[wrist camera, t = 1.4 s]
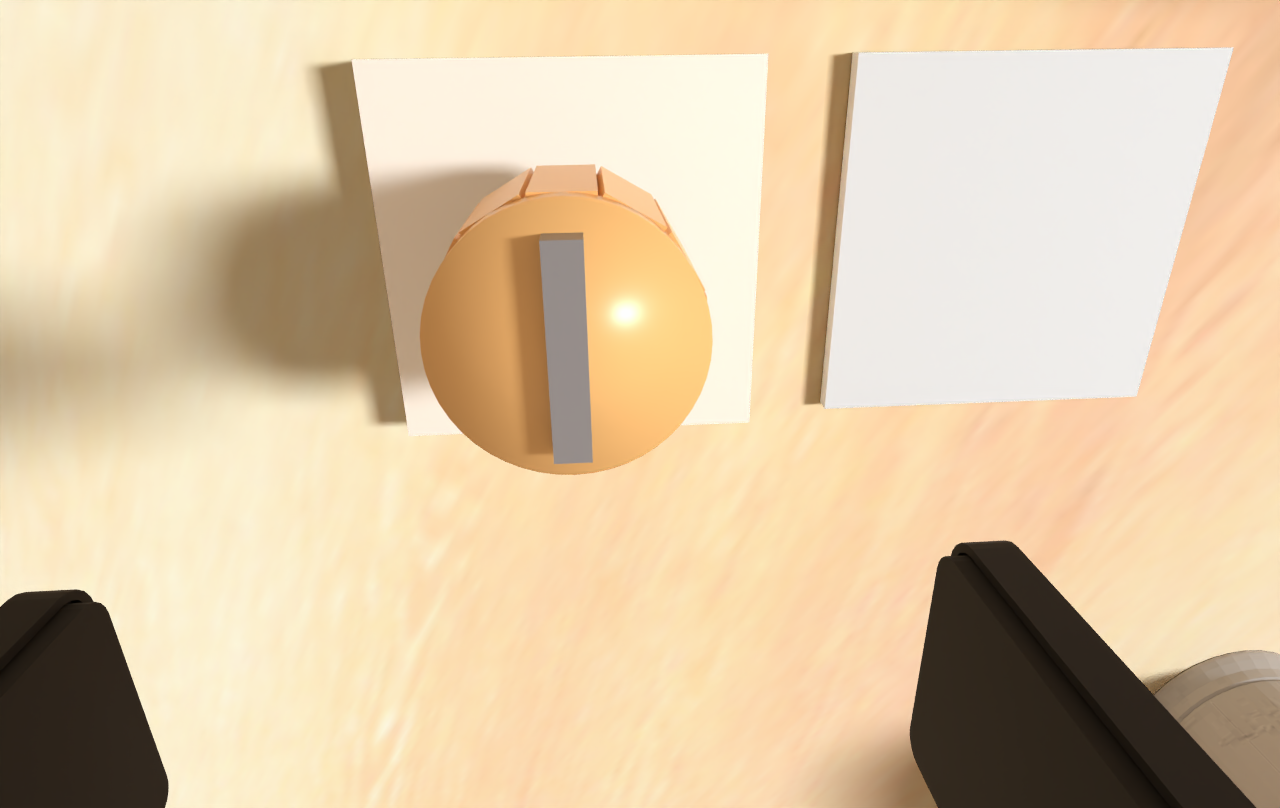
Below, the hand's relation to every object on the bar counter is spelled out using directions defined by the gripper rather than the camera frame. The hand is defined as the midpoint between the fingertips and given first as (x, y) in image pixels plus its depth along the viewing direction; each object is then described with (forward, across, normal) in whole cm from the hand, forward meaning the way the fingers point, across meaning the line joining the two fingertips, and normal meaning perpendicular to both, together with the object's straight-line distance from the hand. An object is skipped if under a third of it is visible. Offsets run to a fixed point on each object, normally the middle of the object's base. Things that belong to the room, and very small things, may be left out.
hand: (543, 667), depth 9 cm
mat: (+19, -15, -1) cm, 24 cm away
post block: (+19, 0, -1) cm, 19 cm away
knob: (+15, 0, -1) cm, 15 cm away
